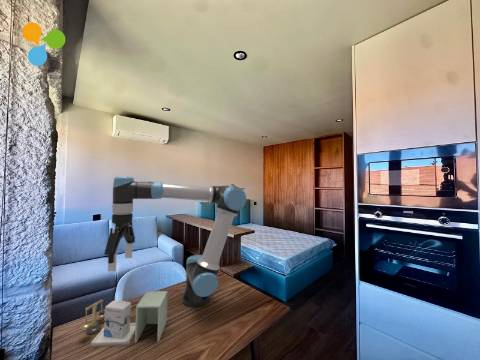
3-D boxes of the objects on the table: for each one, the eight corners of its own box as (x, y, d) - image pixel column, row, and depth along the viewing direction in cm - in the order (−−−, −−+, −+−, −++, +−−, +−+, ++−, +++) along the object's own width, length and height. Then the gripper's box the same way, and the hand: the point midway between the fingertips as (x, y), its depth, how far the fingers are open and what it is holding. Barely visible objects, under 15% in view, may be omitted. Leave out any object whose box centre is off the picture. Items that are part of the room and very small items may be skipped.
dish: (138, 326, 89) (139, 322, 89) (127, 345, 79) (127, 341, 79) (106, 327, 88) (106, 323, 88) (90, 346, 77) (91, 342, 78)
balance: (88, 343, 79) (89, 311, 79) (75, 343, 78) (76, 311, 79) (109, 318, 93) (110, 291, 93) (98, 319, 93) (99, 291, 93)
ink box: (102, 336, 82) (103, 306, 82) (112, 327, 87) (113, 299, 87) (122, 339, 80) (123, 309, 81) (130, 330, 85) (131, 302, 86)
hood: (166, 322, 92) (167, 291, 92) (158, 341, 81) (159, 306, 81) (145, 323, 91) (146, 291, 91) (134, 342, 80) (136, 306, 80)
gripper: (127, 209, 98) (125, 253, 97) (94, 218, 73) (92, 277, 72) (143, 209, 98) (142, 253, 98) (116, 218, 73) (114, 277, 73)
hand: (120, 263), depth 85 cm, fingers open, 13 cm apart
